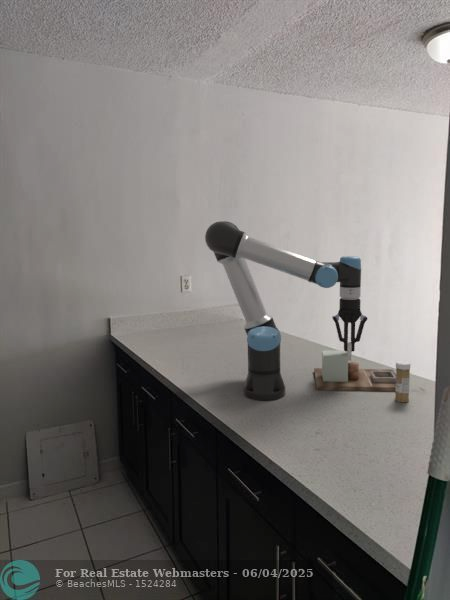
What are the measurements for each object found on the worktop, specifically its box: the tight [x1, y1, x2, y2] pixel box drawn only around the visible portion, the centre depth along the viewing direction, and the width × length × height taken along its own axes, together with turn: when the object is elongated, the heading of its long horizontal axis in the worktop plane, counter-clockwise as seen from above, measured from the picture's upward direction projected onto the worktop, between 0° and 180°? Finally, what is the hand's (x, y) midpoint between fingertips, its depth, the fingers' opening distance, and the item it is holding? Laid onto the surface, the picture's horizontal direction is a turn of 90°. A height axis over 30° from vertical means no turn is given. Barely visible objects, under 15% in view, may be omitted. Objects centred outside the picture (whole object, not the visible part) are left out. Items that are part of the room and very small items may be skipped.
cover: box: [321, 349, 349, 382], centre depth 182 cm, size 9×8×10 cm
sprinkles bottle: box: [394, 360, 411, 403], centre depth 161 cm, size 5×5×13 cm
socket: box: [370, 371, 396, 383], centre depth 180 cm, size 8×8×2 cm
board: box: [313, 361, 396, 392], centre depth 183 cm, size 31×22×8 cm
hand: (348, 359), depth 180 cm, fingers closed
